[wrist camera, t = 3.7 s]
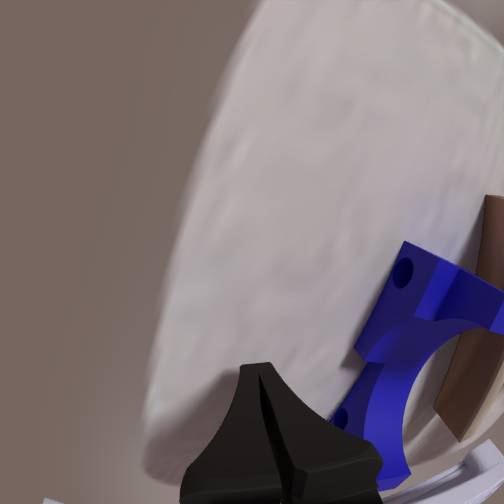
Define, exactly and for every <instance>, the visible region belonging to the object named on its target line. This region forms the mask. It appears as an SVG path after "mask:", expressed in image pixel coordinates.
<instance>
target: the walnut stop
mask: <svg viewBox="0 0 504 504" xmlns="http://www.w3.org/2000/svg"><path fill="white" fill-rule="evenodd" d="M476 276H477V277H479V278H481V279H483V280H484V281H486V282H488V283H490V284H491V285H493V286H495V287H497V288H498V289H500V290H502V291H503V292H504V197H502V196H495V195H486V203H485V215H484V225H483V234H482V241H481V248H480V255H479V261H478V266H477V272H476ZM503 383H504V335H502V334H499V333H495V332H492V331H489V330H487V329H485V328H475V329H470V330H467V331H464V332H462V333H461V336H460V339H459V342H458V345H457V348H456V351H455V354H454V357H453V360H452V363H451V365H450V368H449V371H448V373H447V376H446V379H445V381H444V384H443V386H442V388H441V391H440V393H439V396H438V398H437V400H436V402H435V405H434V407H433V408H434V409H435V411H436V412H437V413H438V415H439V416H440V417H441V418H442V420H443V421H444V422H445V424H446V425H447V426H448V427H449V429H450V430H451V431H452V433H453V434H454V435H455V437H456V438H457V439H458V442H459V443H460V442H462V441H464V440H466V439H468V438H469V437H471V436H473V435H474V434H475V433H476V431H477V429H478V428H479V426H480V425H481V423H482V421H483V420H484V418H485V416H486V415H487V413H488V411H489V409H490V408H491V406H492V404H493V402H494V400H495V398H496V397H497V395H498V393H499V391H500V389H501V387H502V385H503Z"/></svg>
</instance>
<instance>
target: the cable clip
mask: <svg viewBox="0 0 504 504" xmlns="http://www.w3.org/2000/svg"><path fill="white" fill-rule="evenodd" d="M475 328H485V329H487V330H489V331H492V332H495V333H499V334H502V335H504V292H503V291H502V290H500V289H498V288H497V287H495V286H493V285H491V284H490V283H488V282H486V281H484V280H483V279H481V278H479V277H477V276H475V275H474V274H472V273H470V272H468V271H466V270H464V269H463V268H461V267H459V266H457V265H455V264H453V263H451V262H449V261H447V260H445V259H443V258H441V257H439V256H437V255H434V254H432V253H430V252H428V251H426V250H424V249H422V248H420V247H418V246H415V245H413V244H411V243H409V242H407V241H404V243H403V245H402V248H401V250H400V253H399V255H398V257H397V260H396V262H395V264H394V267H393V269H392V271H391V274H390V276H389V278H388V280H387V282H386V285H385V287H384V289H383V291H382V293H381V295H380V297H379V299H378V301H377V303H376V306H375V308H374V310H373V312H372V314H371V316H370V317H369V319H368V321H367V323H366V325H365V327H364V329H363V331H362V333H361V335H360V337H359V338H358V340H357V342H356V344H355V346H354V348H355V349H356V351H357V352H358V353H359V355H360V356H361V358H362V359H363V361H367V362H368V363H367V365H366V367H365V368H364V370H363V372H362V373H361V375H360V376H359V378H358V380H357V381H356V383H355V384H354V386H353V387H352V389H351V390H350V392H349V393H348V395H347V396H346V398H345V399H344V401H343V402H342V404H341V405H340V407H339V408H338V410H337V411H336V412H335V414H334V415H333V417H332V418H331V419H330V421H329V422H330V423H331V424H333V425H335V426H336V427H338V428H340V429H342V430H344V431H346V432H348V433H350V434H352V435H354V436H357V437H359V438H362V439H365V440H367V441H370V442H371V443H372V444H373V445H374V447H375V448H376V449H377V451H378V452H379V454H380V455H381V457H382V459H383V462H384V464H383V467H382V469H381V471H380V473H379V475H378V476H377V478H376V481H377V483H378V486H379V488H378V489H377V491H378V492H379V491H384V490H389V489H394V488H396V487H397V486H399V485H400V484H401V483H402V482H403V481H404V480H405V479H406V478H408V476H410V475H411V472H410V470H409V468H408V465H407V463H406V459H405V456H404V451H403V443H402V424H403V416H404V411H405V406H406V402H407V399H408V396H409V393H410V390H411V388H412V385H413V383H414V381H415V379H416V377H417V375H418V374H419V372H420V370H421V369H422V367H423V365H424V364H425V363H426V361H427V360H428V359H429V357H430V356H431V355H432V354H433V353H434V352H435V351H436V350H437V349H438V348H439V347H440V346H441V345H442V344H444V343H445V342H446V341H447V340H449V339H450V338H452V337H454V336H455V335H457V334H459V333H462V332H464V331H467V330H470V329H475Z"/></svg>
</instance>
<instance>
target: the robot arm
mask: <svg viewBox="0 0 504 504" xmlns="http://www.w3.org/2000/svg"><path fill="white" fill-rule="evenodd" d="M383 464H384V462H383V459H382V457H381V455H380V454H379V452H378V451H377V449H376V448H375V447H374V445H373V444H372V443H371V442H370V441H367V440H365V439H362V438H359V437H357V436H354V435H352V434H350V433H348V432H346V431H344V430H342V429H340V428H338V427H336V426H335V425H333V424H331V423H330V422H328V421H326V420H325V419H324V418H322V417H321V416H319V415H318V414H317V413H315V412H314V411H313V410H312V409H310V408H309V407H308V406H307V405H306V404H305V403H304V402H303V401H302V400H301V399H300V398H298V397H297V395H296V394H295V393H294V392H293V391H292V390H291V389H290V388H289V387H288V385H287V384H286V383H285V382H284V381H283V379H282V378H281V377H280V375H279V374H278V373H277V371H276V370H275V368H274V366H273V365H272V363H270V362H265V363H255V364H244V365H241V366H240V375H239V381H238V385H237V389H236V392H235V395H234V398H233V401H232V403H231V406H230V408H229V411H228V413H227V415H226V417H225V419H224V421H223V423H222V425H221V426H220V428H219V430H218V431H217V433H216V435H215V436H214V438H213V439H212V440H211V442H210V443H209V444H208V446H207V447H206V448H205V449H204V451H203V452H202V453H201V454H200V455H199V456H198V458H197V459H196V460H195V461H194V462H193V463H192V464H191V465H190V466H189V467H188V468H187V470H186V472H185V475H184V477H183V480H182V484H181V488H180V500H179V502H180V504H280V503H281V504H480V503H481V502H483V501H484V500H486V499H487V498H488V497H489V496H490V495H491V494H492V493H493V492H494V491H495V490H496V489H497V488H498V487H499V486H500V485H501V484H502V483H503V482H504V457H503V456H502V454H501V453H500V452H499V450H498V449H497V448H496V447H495V445H494V444H493V443H492V442H491V440H490V439H488V440H486V441H484V442H483V443H481V444H480V445H478V446H476V447H475V448H473V449H472V450H471V451H470V452H469V453H468V454H467V455H466V456H465V458H464V460H463V461H462V462H460V463H458V464H457V465H455V466H453V467H451V468H449V469H447V470H446V471H444V472H442V473H440V474H438V475H436V476H434V477H432V478H430V479H428V480H426V481H424V482H422V483H419V484H417V485H415V486H413V487H410V488H408V489H406V490H404V491H401V492H399V493H396V494H393V495H391V496H389V497H386V498H383V499H381V497H380V495H379V493H378V491H377V489H378V488H379V486H378V483H377V481H376V478H377V476H378V475H379V473H380V471H381V469H382V467H383ZM43 504H65V503H62V502H59V501H56V500H53V499H50V498H45V499H44V502H43Z"/></svg>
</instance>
